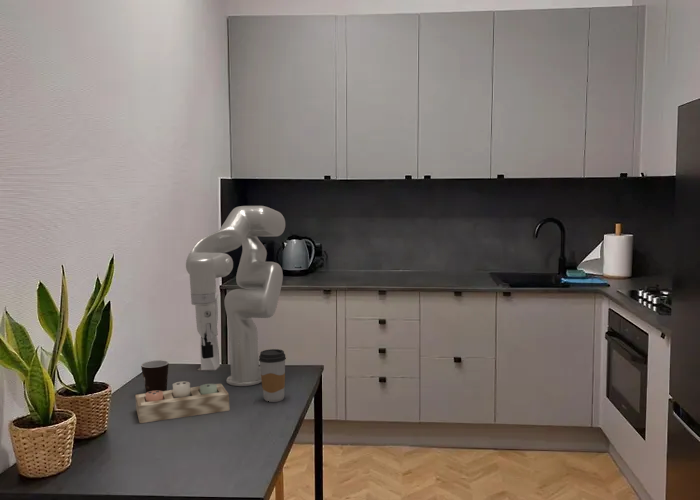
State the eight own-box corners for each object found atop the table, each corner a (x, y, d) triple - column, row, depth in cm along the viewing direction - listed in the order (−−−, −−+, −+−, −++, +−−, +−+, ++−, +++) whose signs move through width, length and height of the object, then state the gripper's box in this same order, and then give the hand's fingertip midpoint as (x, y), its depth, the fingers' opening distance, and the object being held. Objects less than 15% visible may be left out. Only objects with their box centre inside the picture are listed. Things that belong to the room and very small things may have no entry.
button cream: (189, 396, 225) (188, 379, 224) (191, 401, 220) (190, 384, 220) (172, 398, 223) (171, 382, 223) (174, 403, 218) (173, 386, 218)
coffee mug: (166, 397, 235) (164, 367, 234) (139, 398, 235) (137, 367, 234) (175, 386, 246) (173, 357, 245) (149, 387, 247) (148, 358, 246)
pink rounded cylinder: (162, 405, 222) (161, 388, 222) (164, 410, 218) (163, 393, 217) (145, 408, 221) (144, 391, 220) (147, 413, 216) (146, 395, 215)
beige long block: (222, 399, 232) (221, 383, 232) (229, 410, 221) (228, 394, 220) (136, 410, 223) (135, 394, 223) (139, 423, 212) (138, 406, 211)
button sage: (215, 398, 228) (215, 382, 227) (218, 403, 223) (218, 386, 223) (199, 400, 226) (198, 384, 225) (202, 405, 221) (201, 388, 221)
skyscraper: (225, 365, 272) (221, 290, 269) (218, 372, 264) (215, 294, 261) (202, 365, 273) (198, 291, 270) (196, 372, 265) (191, 295, 262)
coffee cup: (289, 394, 234) (287, 348, 233) (284, 403, 226) (282, 355, 224) (263, 394, 235) (261, 348, 234) (258, 403, 227) (255, 355, 225)
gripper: (221, 301, 215) (224, 362, 218) (212, 292, 229) (215, 349, 232) (195, 304, 213) (199, 365, 215) (187, 294, 227) (191, 352, 229)
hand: (207, 357), depth 224 cm, fingers closed
